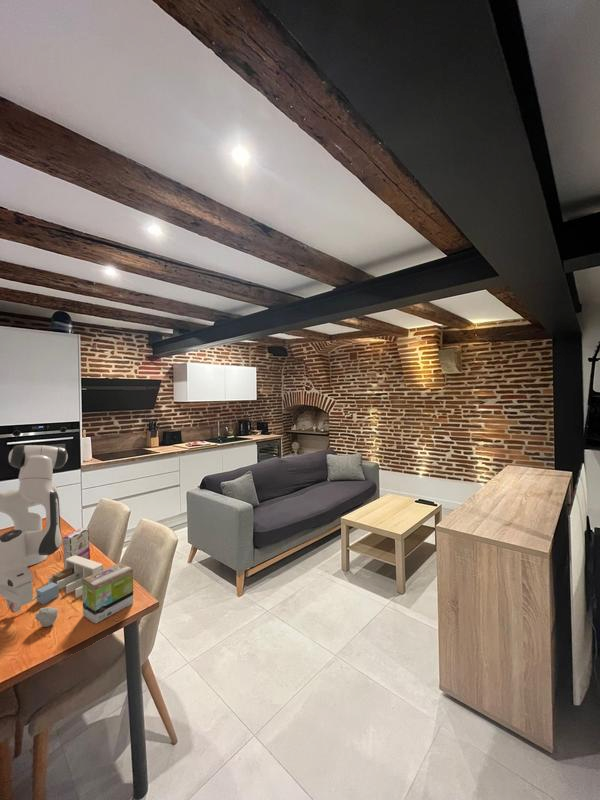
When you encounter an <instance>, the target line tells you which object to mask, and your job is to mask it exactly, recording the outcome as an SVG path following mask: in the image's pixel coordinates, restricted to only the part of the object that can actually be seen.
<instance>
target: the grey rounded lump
mask: <svg viewBox="0 0 600 800" xmlns="http://www.w3.org/2000/svg"><path fill="white" fill-rule="evenodd" d="M58 612H59V609H58V608H56V607H49V606H45V607H41V608H39V610H38V612H37V613H36V614H35V615H34V616H35V620H36V621H37V622H39V624H40V626H41V627H45V628H46V627H50V626H52V625H53V624H54V623H55V622H56V620H57V618H58Z"/></svg>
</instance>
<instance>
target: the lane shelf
mask: <svg viewBox="0 0 600 800" xmlns="http://www.w3.org/2000/svg"><path fill="white" fill-rule="evenodd" d="M65 562H66V569H69V570H72V572H73V575H70V576H68V577H66V578H64V579H62V580H60V581H58V582H57V584H58V590H61V589H64V588H65V593H66V594H67V595H68V594H70V593H73V592H74V595H75V598H76V599H77V598H80V597H81V596H83V578H86V577H88V576H90V575H93V574H95V573H97V572H100V571H102V570H104V563H101V562H98V561H95V560H91V559H90V560H89V559H86V558H83V557H80V556H77V555H74V556H72V557H69V558H67V559H65ZM47 579H48V580H47V581H48V582H47V583H48V584H49V583H51V582H53V575H51V576H49V577H48V578H47Z"/></svg>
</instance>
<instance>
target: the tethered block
mask: <svg viewBox="0 0 600 800" xmlns="http://www.w3.org/2000/svg"><path fill="white" fill-rule="evenodd" d="M59 590H60V589H59ZM59 590H58V584H55V583H53V582H51V583H49V584H45V585H44V586H41V587H39V588H38V589H36V591H35V592H36V596H33V598H32V601H35V600H36V602H37V603H39V604H41V605H45V604H47V603H49V602H50V601H53V600H54V599H56V598H58V597H59V596H60V594H59ZM32 601H31V602H32ZM14 606H15V604H14V605H13V606H12V607H11V609H9V610H10V613H16V612H14V611H13V607H14Z"/></svg>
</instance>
